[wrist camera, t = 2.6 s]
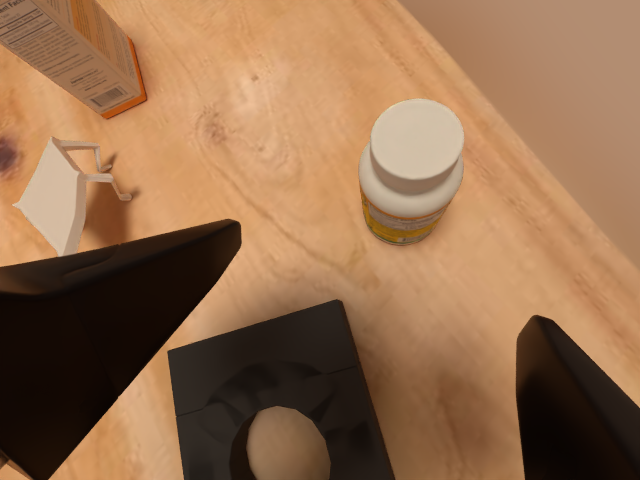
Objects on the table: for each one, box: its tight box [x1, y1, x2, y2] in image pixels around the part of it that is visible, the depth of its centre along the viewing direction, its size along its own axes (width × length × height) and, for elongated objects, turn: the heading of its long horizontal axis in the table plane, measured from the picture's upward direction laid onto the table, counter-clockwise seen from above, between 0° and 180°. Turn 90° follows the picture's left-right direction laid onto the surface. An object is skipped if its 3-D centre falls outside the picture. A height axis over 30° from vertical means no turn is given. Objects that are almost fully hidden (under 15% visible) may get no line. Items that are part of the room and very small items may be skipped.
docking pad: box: [167, 299, 395, 480], centre depth 19 cm, size 16×12×2 cm
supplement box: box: [0, 0, 146, 118], centre depth 25 cm, size 8×5×13 cm, turn 20°
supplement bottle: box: [359, 99, 464, 245], centre depth 18 cm, size 5×5×10 cm
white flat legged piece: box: [12, 136, 132, 257], centre depth 25 cm, size 12×8×5 cm
